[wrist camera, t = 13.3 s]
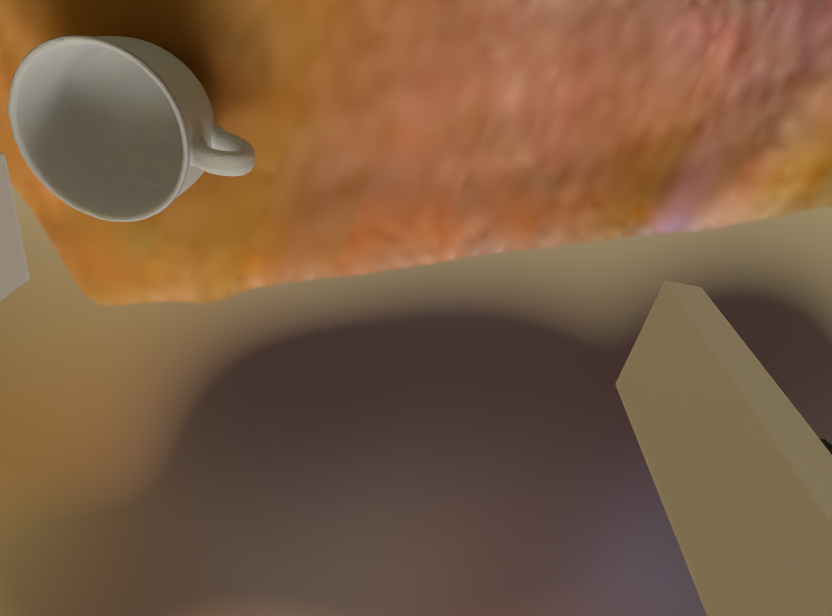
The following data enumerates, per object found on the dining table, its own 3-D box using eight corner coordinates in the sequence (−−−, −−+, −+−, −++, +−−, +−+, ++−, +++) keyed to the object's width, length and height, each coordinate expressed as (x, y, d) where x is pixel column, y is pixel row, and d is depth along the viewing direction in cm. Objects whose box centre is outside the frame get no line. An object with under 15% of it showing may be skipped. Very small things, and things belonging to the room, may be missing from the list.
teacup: (71, 145, 42) (-2, 180, 35) (89, -7, 37) (7, 0, 30) (251, 220, 45) (215, 266, 38) (293, 88, 39) (260, 114, 32)
